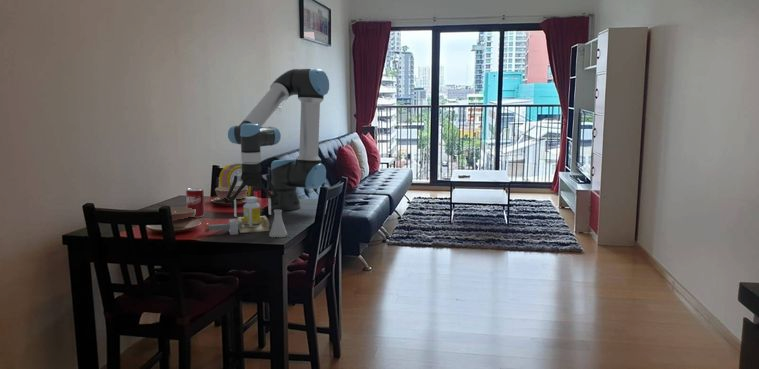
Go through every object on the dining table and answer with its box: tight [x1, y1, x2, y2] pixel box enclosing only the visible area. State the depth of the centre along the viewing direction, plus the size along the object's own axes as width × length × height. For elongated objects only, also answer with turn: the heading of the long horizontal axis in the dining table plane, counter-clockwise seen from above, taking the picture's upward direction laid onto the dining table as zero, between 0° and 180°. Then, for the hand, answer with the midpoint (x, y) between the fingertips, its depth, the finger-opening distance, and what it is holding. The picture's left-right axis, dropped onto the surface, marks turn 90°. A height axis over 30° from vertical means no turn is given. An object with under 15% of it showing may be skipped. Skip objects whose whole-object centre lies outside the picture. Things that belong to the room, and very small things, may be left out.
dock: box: [236, 215, 271, 234], centre depth 225 cm, size 11×12×3 cm
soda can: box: [185, 187, 205, 219], centre depth 245 cm, size 7×7×12 cm
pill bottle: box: [242, 196, 261, 227], centre depth 225 cm, size 6×6×12 cm
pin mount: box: [228, 218, 239, 236], centre depth 218 cm, size 3×6×5 cm, turn 18°
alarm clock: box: [218, 162, 252, 197], centre depth 286 cm, size 15×8×18 cm, turn 137°
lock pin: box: [203, 222, 240, 234], centre depth 216 cm, size 13×4×4 cm, turn 108°
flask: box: [268, 210, 289, 239], centre depth 213 cm, size 7×7×10 cm
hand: (252, 215), depth 225 cm, fingers open, 13 cm apart
